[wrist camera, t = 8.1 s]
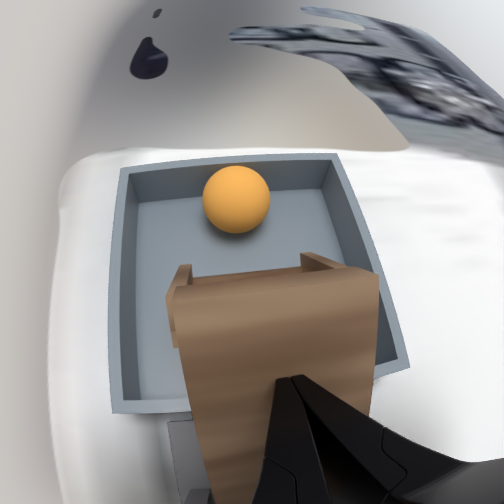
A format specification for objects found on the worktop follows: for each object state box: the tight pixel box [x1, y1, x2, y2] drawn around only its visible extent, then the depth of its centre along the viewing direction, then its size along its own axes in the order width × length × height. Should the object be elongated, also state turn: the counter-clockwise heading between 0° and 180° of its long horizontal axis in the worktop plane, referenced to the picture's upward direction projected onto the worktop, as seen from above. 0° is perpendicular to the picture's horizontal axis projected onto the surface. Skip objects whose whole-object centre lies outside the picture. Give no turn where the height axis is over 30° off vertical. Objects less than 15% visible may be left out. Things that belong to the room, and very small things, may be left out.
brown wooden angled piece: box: [165, 252, 379, 504], centre depth 13 cm, size 8×7×11 cm
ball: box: [202, 166, 270, 233], centre depth 18 cm, size 4×4×4 cm
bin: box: [108, 153, 410, 414], centre depth 17 cm, size 14×14×4 cm
